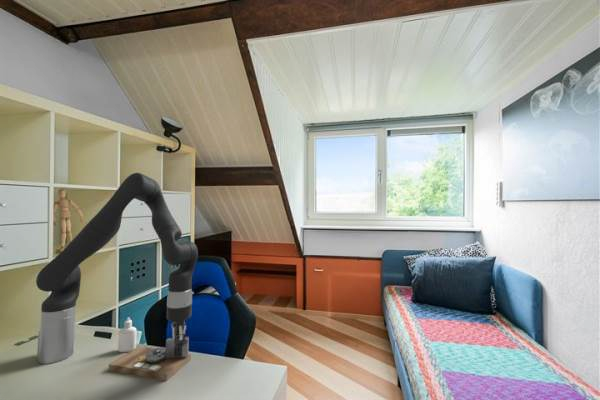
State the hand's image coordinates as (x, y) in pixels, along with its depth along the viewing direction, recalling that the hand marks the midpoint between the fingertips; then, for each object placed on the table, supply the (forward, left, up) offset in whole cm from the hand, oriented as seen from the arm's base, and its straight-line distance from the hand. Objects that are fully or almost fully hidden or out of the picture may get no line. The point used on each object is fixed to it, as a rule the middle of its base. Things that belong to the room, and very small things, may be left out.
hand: (177, 356), depth 87 cm
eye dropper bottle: (-27, +7, -5) cm, 29 cm away
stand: (-11, +1, -5) cm, 12 cm away
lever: (-7, +2, -2) cm, 8 cm away
